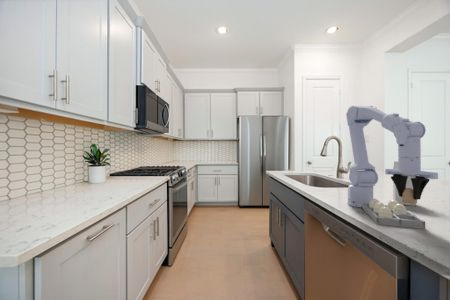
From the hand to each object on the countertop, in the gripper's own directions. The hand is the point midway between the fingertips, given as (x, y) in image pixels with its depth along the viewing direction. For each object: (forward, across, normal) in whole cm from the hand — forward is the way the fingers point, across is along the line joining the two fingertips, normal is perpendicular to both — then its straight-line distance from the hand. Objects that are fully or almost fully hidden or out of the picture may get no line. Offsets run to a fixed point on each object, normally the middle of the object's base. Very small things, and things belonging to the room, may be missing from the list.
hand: (409, 197), depth 73 cm
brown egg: (+1, 0, 0) cm, 1 cm away
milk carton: (+9, +18, -26) cm, 33 cm away
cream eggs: (+8, +6, 0) cm, 11 cm away
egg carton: (+8, +6, 0) cm, 11 cm away
